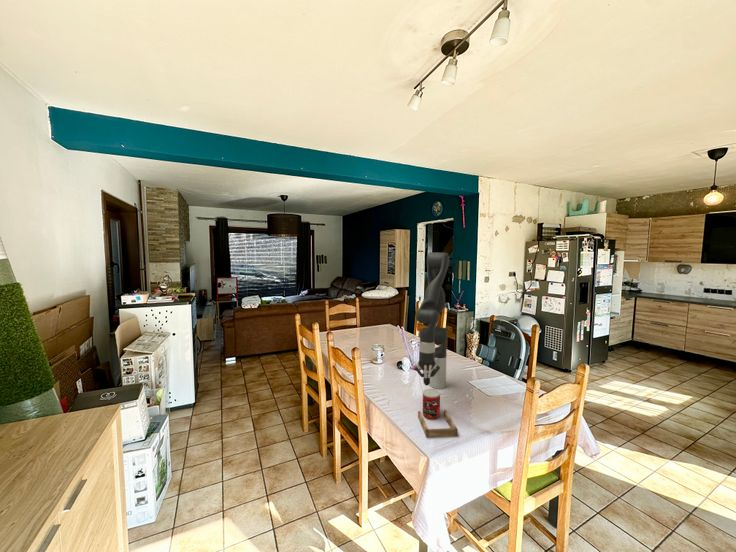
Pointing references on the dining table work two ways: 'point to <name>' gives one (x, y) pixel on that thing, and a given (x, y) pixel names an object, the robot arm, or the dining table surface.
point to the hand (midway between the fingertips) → (426, 384)
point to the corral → (439, 432)
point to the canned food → (431, 403)
